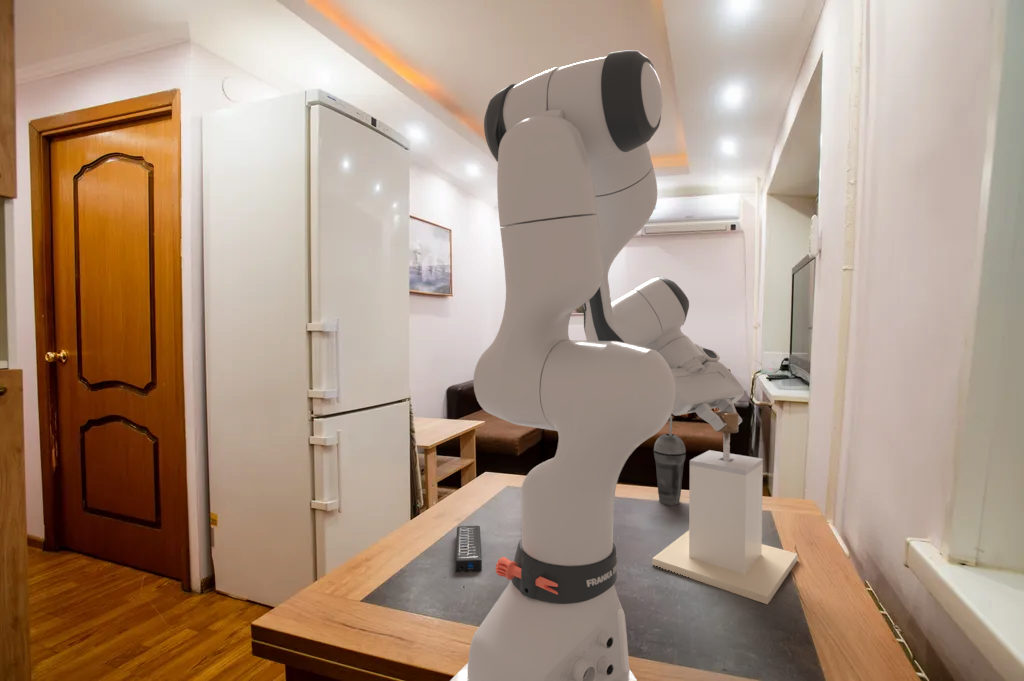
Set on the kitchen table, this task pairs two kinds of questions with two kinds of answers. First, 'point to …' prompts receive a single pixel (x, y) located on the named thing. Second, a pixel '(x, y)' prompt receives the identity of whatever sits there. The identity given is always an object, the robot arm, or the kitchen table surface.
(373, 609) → the kitchen table surface
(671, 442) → the beverage cup
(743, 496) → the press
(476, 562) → the multiport hub
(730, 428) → the plunger
